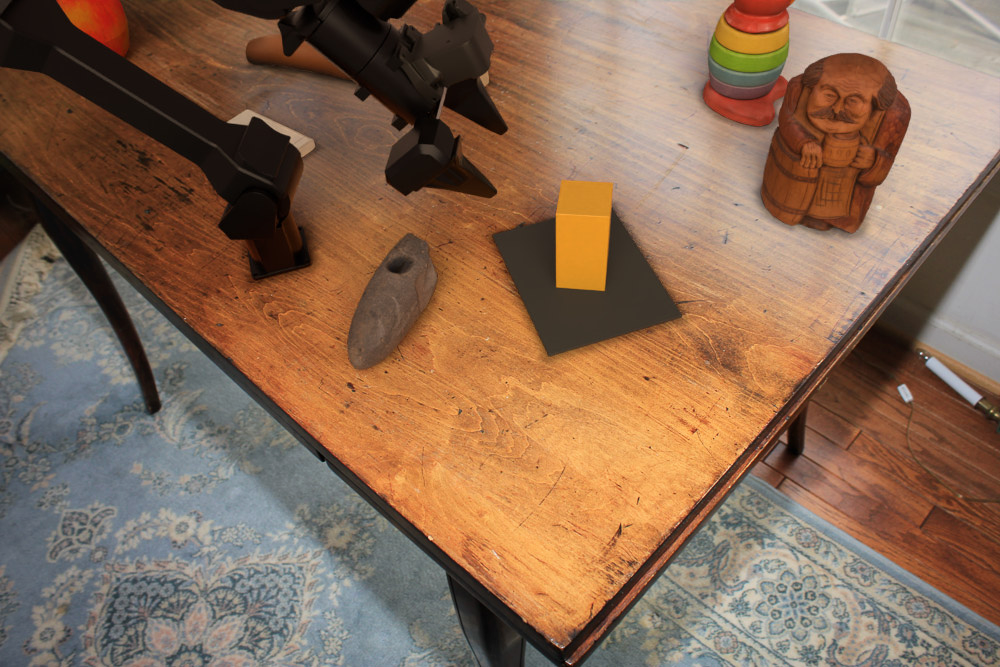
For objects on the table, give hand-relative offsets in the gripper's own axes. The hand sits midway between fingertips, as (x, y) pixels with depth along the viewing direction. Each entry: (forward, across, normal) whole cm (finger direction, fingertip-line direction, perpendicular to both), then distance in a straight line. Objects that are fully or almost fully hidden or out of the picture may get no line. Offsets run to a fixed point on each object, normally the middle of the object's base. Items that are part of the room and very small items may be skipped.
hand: (499, 162), depth 71 cm
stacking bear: (+28, +30, -11) cm, 43 cm away
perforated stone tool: (+2, -11, +16) cm, 19 cm away
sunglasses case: (-11, +38, +33) cm, 52 cm away
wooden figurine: (+31, +8, -16) cm, 36 cm away
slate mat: (+15, -3, +2) cm, 15 cm away
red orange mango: (-32, +39, +58) cm, 77 cm away
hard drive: (-13, +17, +34) cm, 40 cm away
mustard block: (+14, -3, +2) cm, 15 cm away
